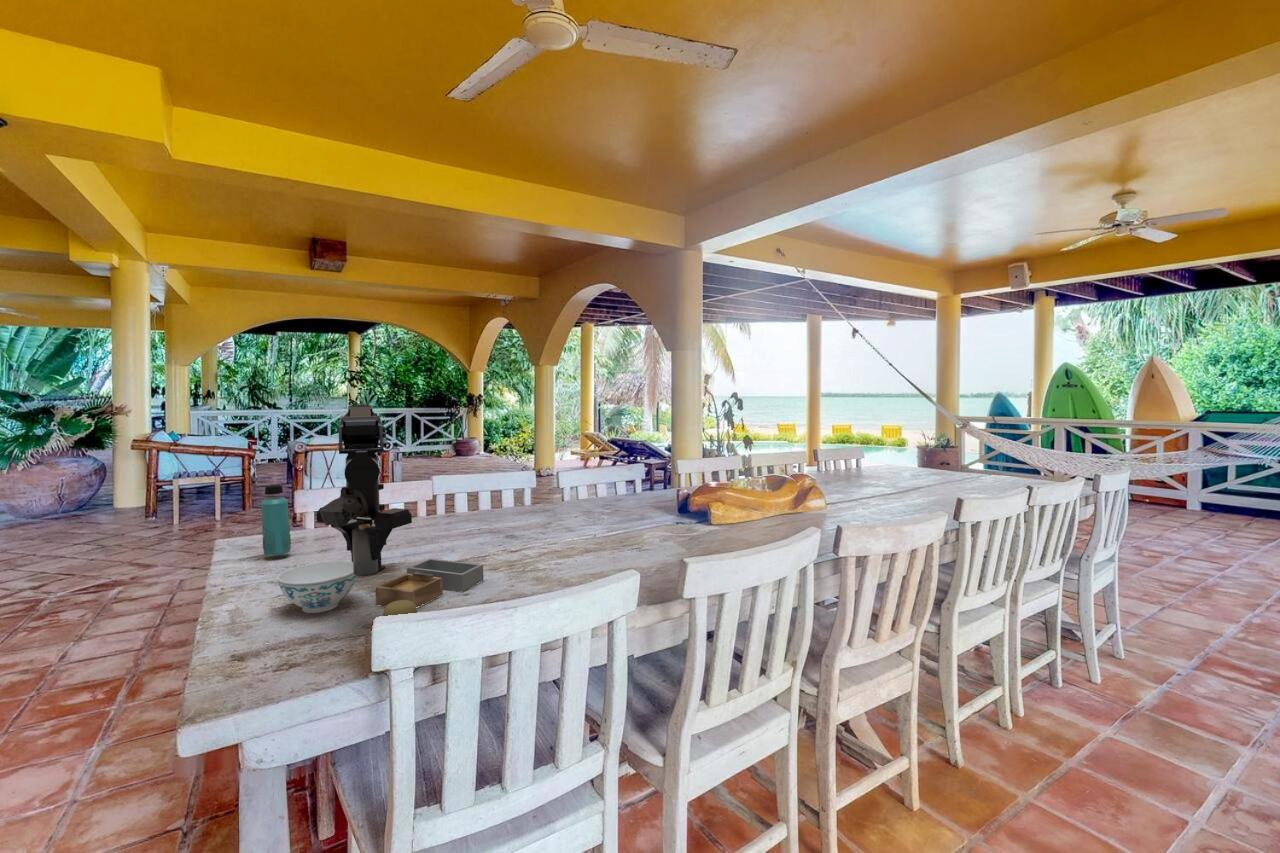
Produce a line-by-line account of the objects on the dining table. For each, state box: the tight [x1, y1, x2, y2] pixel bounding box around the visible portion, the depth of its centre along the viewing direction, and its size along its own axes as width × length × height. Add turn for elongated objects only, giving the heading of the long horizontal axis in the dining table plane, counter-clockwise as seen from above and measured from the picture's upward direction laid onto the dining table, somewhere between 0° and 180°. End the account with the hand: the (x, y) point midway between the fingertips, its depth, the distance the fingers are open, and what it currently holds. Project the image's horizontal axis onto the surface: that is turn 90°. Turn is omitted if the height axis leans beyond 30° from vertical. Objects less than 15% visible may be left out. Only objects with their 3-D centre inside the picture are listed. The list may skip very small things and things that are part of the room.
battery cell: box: [352, 524, 379, 576], centre depth 114 cm, size 4×4×9 cm
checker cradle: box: [374, 572, 444, 607], centre depth 126 cm, size 10×10×4 cm
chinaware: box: [276, 560, 358, 614], centre depth 122 cm, size 15×15×8 cm
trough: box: [406, 558, 485, 592], centre depth 137 cm, size 16×8×4 cm, turn 71°
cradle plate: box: [391, 580, 428, 591], centre depth 126 cm, size 7×7×1 cm
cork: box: [382, 600, 420, 676], centre depth 96 cm, size 6×6×11 cm
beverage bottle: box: [260, 484, 292, 556], centre depth 158 cm, size 6×7×20 cm
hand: (365, 558), depth 114 cm, fingers closed on battery cell, 4 cm apart
